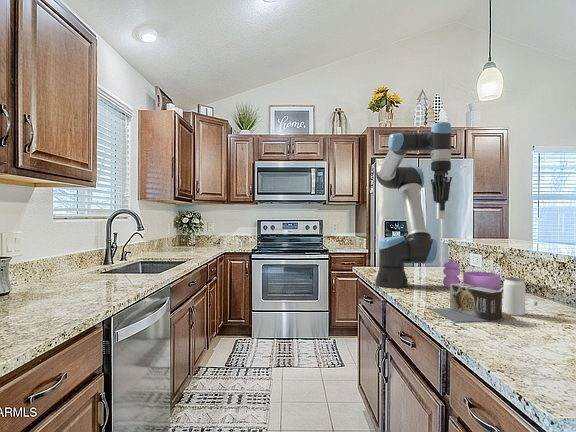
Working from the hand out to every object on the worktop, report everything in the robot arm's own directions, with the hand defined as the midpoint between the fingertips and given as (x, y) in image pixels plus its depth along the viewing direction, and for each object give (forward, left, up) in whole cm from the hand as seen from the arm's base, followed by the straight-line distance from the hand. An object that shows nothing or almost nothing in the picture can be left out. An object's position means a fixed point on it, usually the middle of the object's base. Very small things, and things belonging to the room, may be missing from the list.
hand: (440, 218), depth 155 cm
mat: (+26, -5, -32) cm, 42 cm away
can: (+26, +13, -33) cm, 44 cm away
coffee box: (+18, -4, -28) cm, 33 cm away
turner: (+25, +7, -33) cm, 42 cm away
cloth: (+5, +25, -33) cm, 42 cm away
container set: (-19, +25, -33) cm, 45 cm away
